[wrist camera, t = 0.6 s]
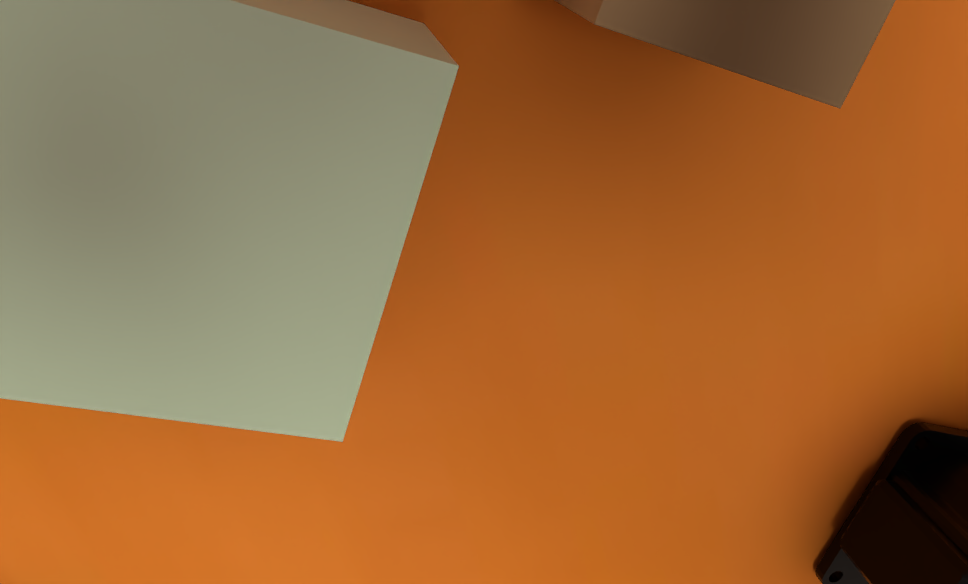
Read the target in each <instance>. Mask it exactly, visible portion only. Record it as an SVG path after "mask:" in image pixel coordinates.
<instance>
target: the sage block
mask: <svg viewBox="0 0 968 584" xmlns="http://www.w3.org/2000/svg"><path fill="white" fill-rule="evenodd" d="M458 68H459V66H458V64H457V63H456V62H455V61H454V59H453V58H452V57H451V56H450V54H449V53H448V52H447V51H446V50H445V48H444V47H443V46H442V45H441V43H440V42H439V41H438V40H437V39H436V37H435V36H434V35H433V34H432V32H431V31H430V30H429V29H428V28H427V26H426V25H425V24H424V23H421V22H418V21H415V20H411V19H408V18H405V17H401V16H398V15H395V14H392V13H388V12H385V11H382V10H378V9H375V8H372V7H368V6H365V5H362V4H358V3H355V2H352V1H348V0H0V398H3V399H10V400H18V401H26V402H34V403H42V404H50V405H58V406H65V407H73V408H81V409H89V410H97V411H105V412H113V413H121V414H128V415H136V416H144V417H152V418H160V419H168V420H176V421H184V422H191V423H199V424H207V425H215V426H223V427H231V428H239V429H246V430H254V431H262V432H270V433H278V434H286V435H294V436H302V437H309V438H317V439H325V440H333V441H341V442H343V439H344V435H345V432H346V429H347V426H348V423H349V419H350V416H351V413H352V410H353V406H354V403H355V400H356V397H357V394H358V390H359V387H360V384H361V381H362V377H363V374H364V371H365V368H366V364H367V361H368V358H369V355H370V352H371V348H372V345H373V342H374V339H375V335H376V332H377V329H378V326H379V323H380V319H381V316H382V313H383V310H384V306H385V303H386V300H387V297H388V293H389V290H390V287H391V284H392V281H393V277H394V274H395V271H396V268H397V264H398V261H399V258H400V255H401V252H402V248H403V245H404V242H405V239H406V235H407V232H408V229H409V226H410V223H411V219H412V216H413V213H414V210H415V206H416V203H417V200H418V197H419V193H420V190H421V187H422V184H423V181H424V177H425V174H426V171H427V168H428V164H429V161H430V158H431V155H432V152H433V148H434V145H435V142H436V139H437V135H438V132H439V129H440V126H441V123H442V119H443V116H444V113H445V110H446V106H447V103H448V100H449V97H450V93H451V90H452V87H453V84H454V81H455V77H456V74H457V71H458Z"/></svg>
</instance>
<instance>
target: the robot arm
mask: <svg viewBox="0 0 968 584" xmlns="http://www.w3.org/2000/svg"><path fill="white" fill-rule="evenodd" d="M815 572H816V576H817V577H818V579H819V580H820V581H821V583H822V584H968V431H964V430H959V429H954V428H949V427H943V426H938V425H933V424H928V423H923V422H920V423H915V424H912V425H910V426H909V427H907V428H906V429H905V430H904V431H903V432H902V434H901V435H900V437H899V438H898V440H897V442H896V443H895V445H894V446H893V448H892V450H891V451H890V453H889V454H888V456H887V457H886V459H885V461H884V462H883V464H882V465H881V467H880V468H879V470H878V472H877V473H876V475H875V476H874V478H873V479H872V481H871V483H870V484H869V486H868V487H867V489H866V490H865V492H864V494H863V495H862V497H861V498H860V500H859V501H858V503H857V505H856V506H855V508H854V509H853V511H852V513H851V514H850V516H849V517H848V519H847V520H846V522H845V524H844V525H843V527H842V528H841V530H840V531H839V533H838V535H837V536H836V538H835V539H834V541H833V542H832V544H831V546H830V547H829V549H828V550H827V552H826V553H825V555H824V557H823V558H822V560H821V561H820V563H819V564H818V566H817V568H816V571H815Z"/></svg>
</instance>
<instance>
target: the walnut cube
mask: <svg viewBox="0 0 968 584" xmlns="http://www.w3.org/2000/svg"><path fill="white" fill-rule="evenodd" d="M554 1H556V2H558V3H559V4H561V5H563V6H565V7H566V8H568V9H570V10H571V11H573V12H575V13H576V14H578V15H580V16H581V17H583V18H585V19H586V20H588V21H590V22H591V23H593V24H595V25H598V26H601V27H604V28H607V29H609V30H612V31H615V32H618V33H621V34H624V35H627V36H630V37H633V38H636V39H639V40H642V41H644V42H647V43H650V44H653V45H656V46H659V47H662V48H665V49H668V50H671V51H674V52H677V53H679V54H682V55H685V56H688V57H691V58H694V59H697V60H700V61H703V62H706V63H709V64H712V65H715V66H717V67H720V68H723V69H726V70H729V71H732V72H735V73H738V74H741V75H744V76H747V77H750V78H752V79H755V80H758V81H761V82H764V83H767V84H770V85H773V86H776V87H779V88H782V89H785V90H788V91H790V92H793V93H796V94H799V95H802V96H805V97H808V98H811V99H814V100H817V101H820V102H823V103H825V104H828V105H831V106H834V107H837V108H841V106H842V104H843V102H844V101H845V99H846V97H847V95H848V93H849V91H850V89H851V87H852V85H853V83H854V81H855V79H856V77H857V75H858V73H859V71H860V69H861V67H862V65H863V63H864V61H865V59H866V57H867V55H868V53H869V51H870V50H871V48H872V46H873V44H874V42H875V40H876V38H877V36H878V34H879V32H880V30H881V28H882V26H883V24H884V22H885V20H886V18H887V16H888V14H889V12H890V10H891V8H892V6H893V4H894V2H895V0H554Z"/></svg>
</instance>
